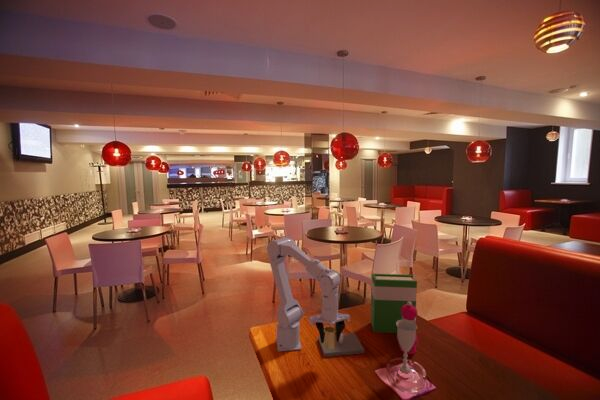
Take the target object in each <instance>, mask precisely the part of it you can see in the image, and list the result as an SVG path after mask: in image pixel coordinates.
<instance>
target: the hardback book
mask: <svg viewBox="0 0 600 400" xmlns="http://www.w3.org/2000/svg"><path fill="white" fill-rule="evenodd" d="M417 289H418V280H416V279H415V280H414V279H413V275H412V274H398V273H397V274H396V273H393V274H392V273H372V274H371V305H370V324H371V327H372V330H373V333H384V334H385V333H387V334H390V333H391V334H397V328H398V327H397V325H396V322H397V321H398V320H402V316H403V315H402V313H401V308H402V306H403V305H406V304H407V302H408V301H410V302H411V303H412V305H413V306H414V307H415V308H416V309H417V295H418V294H417Z"/></svg>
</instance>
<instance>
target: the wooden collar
mask: <svg viewBox="0 0 600 400" xmlns="http://www.w3.org/2000/svg"><path fill="white" fill-rule="evenodd" d="M323 327H324V334H323V337H324V343H322V345H323V347H324V348H326V349H328V350H330V349H335V348H336V347H337V329H336V326H333V325H330V324H329V325H324V326H323Z"/></svg>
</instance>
